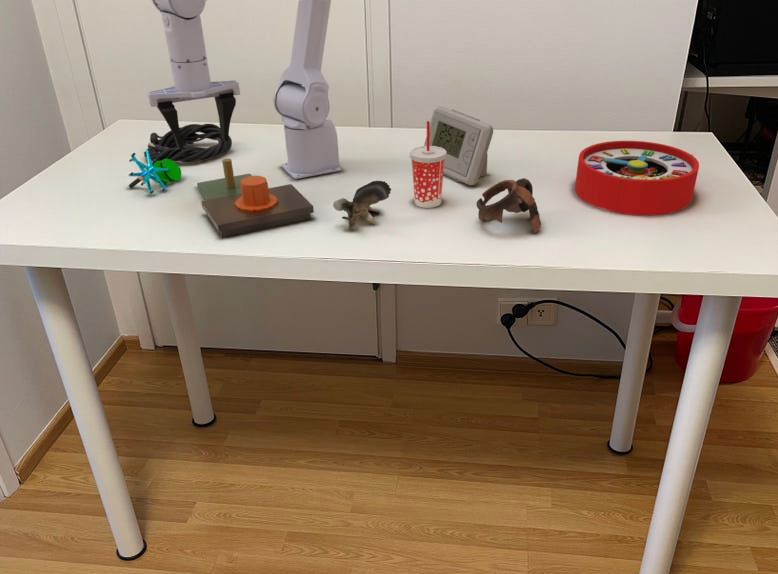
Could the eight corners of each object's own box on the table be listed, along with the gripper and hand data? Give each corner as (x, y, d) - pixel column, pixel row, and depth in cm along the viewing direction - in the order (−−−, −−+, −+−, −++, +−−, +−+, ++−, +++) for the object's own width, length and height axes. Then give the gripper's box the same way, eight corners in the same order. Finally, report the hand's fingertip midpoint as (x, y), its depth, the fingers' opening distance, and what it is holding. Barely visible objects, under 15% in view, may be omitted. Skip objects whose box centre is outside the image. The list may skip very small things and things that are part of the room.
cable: (237, 141, 157) (234, 121, 155) (226, 165, 146) (223, 143, 143) (156, 143, 157) (152, 123, 154) (138, 167, 145) (134, 145, 143)
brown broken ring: (536, 244, 116) (512, 202, 111) (486, 256, 122) (461, 217, 118) (557, 198, 122) (535, 157, 118) (509, 212, 129) (486, 173, 124)
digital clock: (417, 162, 145) (417, 107, 139) (458, 155, 148) (460, 101, 142) (454, 191, 133) (456, 132, 126) (498, 183, 135) (502, 125, 129)
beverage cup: (427, 192, 132) (427, 113, 124) (452, 202, 129) (454, 121, 121) (402, 202, 129) (401, 121, 121) (428, 212, 125) (428, 129, 117)
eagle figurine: (380, 229, 117) (401, 199, 123) (353, 193, 114) (376, 164, 120) (348, 245, 122) (369, 214, 128) (321, 210, 119) (344, 181, 125)
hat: (269, 192, 127) (267, 170, 125) (282, 206, 122) (280, 183, 120) (231, 200, 125) (227, 177, 122) (242, 214, 120) (239, 191, 117)
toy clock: (684, 189, 116) (562, 168, 125) (677, 224, 120) (558, 201, 128) (710, 150, 131) (599, 134, 139) (703, 182, 134) (594, 164, 142)
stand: (292, 197, 132) (291, 183, 130) (314, 219, 124) (313, 205, 122) (203, 214, 126) (200, 200, 125) (220, 239, 118) (217, 225, 116)
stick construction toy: (147, 189, 130) (127, 148, 129) (123, 207, 133) (103, 167, 133) (193, 185, 140) (175, 147, 140) (170, 202, 144) (152, 165, 143)
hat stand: (250, 178, 140) (246, 146, 136) (266, 196, 132) (262, 163, 129) (197, 188, 136) (191, 156, 133) (211, 207, 129) (205, 173, 125)
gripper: (146, 69, 112) (164, 157, 120) (240, 58, 117) (251, 143, 125) (138, 60, 117) (155, 144, 125) (228, 49, 122) (239, 131, 130)
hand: (202, 143), depth 125 cm, fingers open, 7 cm apart
